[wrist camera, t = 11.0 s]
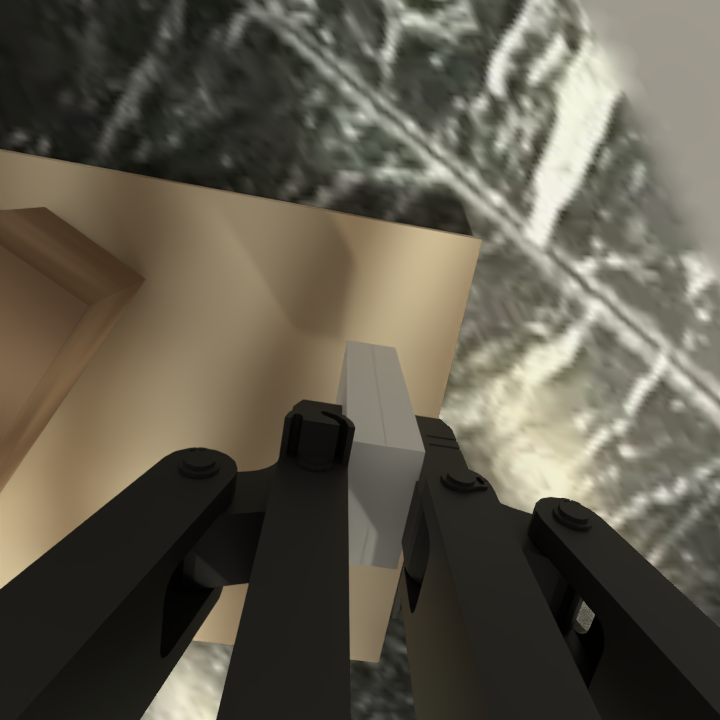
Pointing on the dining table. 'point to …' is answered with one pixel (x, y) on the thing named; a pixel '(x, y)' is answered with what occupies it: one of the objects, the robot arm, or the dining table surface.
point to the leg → (49, 320)
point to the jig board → (225, 346)
